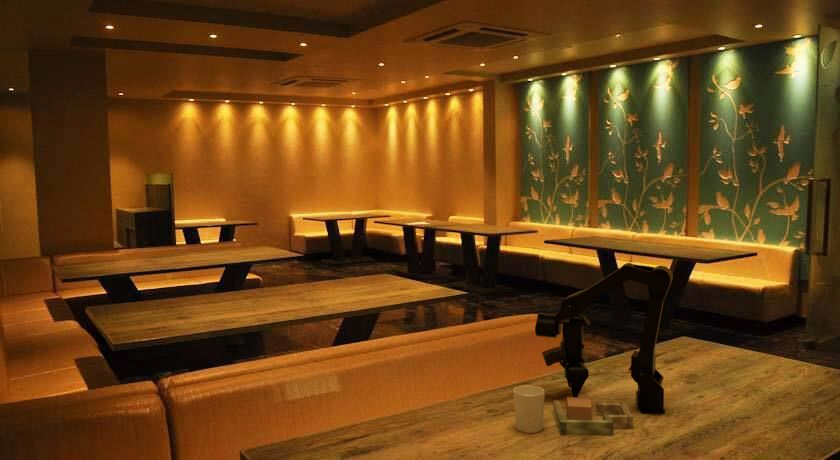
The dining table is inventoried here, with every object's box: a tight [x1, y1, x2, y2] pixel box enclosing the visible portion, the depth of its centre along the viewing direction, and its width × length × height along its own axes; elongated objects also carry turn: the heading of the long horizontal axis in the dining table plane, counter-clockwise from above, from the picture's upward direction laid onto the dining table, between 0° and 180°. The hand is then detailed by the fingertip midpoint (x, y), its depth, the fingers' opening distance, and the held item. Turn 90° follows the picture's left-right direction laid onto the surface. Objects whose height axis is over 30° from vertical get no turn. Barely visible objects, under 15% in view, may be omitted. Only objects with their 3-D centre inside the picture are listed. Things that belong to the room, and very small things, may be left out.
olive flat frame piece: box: [552, 400, 634, 436], centre depth 174 cm, size 19×16×3 cm
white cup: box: [512, 385, 545, 434], centre depth 171 cm, size 8×8×10 cm
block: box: [566, 396, 593, 420], centre depth 179 cm, size 6×7×4 cm
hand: (572, 392), depth 191 cm, fingers open, 9 cm apart
